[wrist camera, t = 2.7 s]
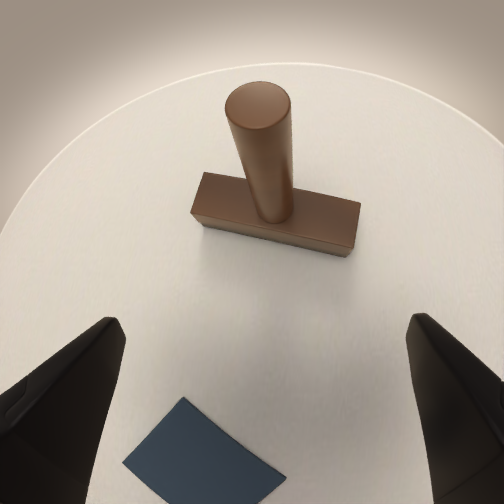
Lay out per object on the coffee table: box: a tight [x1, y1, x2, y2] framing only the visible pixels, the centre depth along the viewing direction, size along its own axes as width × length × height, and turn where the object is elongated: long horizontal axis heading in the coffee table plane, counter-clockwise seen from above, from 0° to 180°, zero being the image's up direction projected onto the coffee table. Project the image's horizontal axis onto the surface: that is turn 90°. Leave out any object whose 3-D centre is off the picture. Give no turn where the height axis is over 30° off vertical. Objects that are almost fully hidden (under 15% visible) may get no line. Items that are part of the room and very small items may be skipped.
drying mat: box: [122, 397, 286, 504], centre depth 19 cm, size 10×9×1 cm
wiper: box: [190, 81, 361, 257], centre depth 17 cm, size 3×11×14 cm, turn 75°
